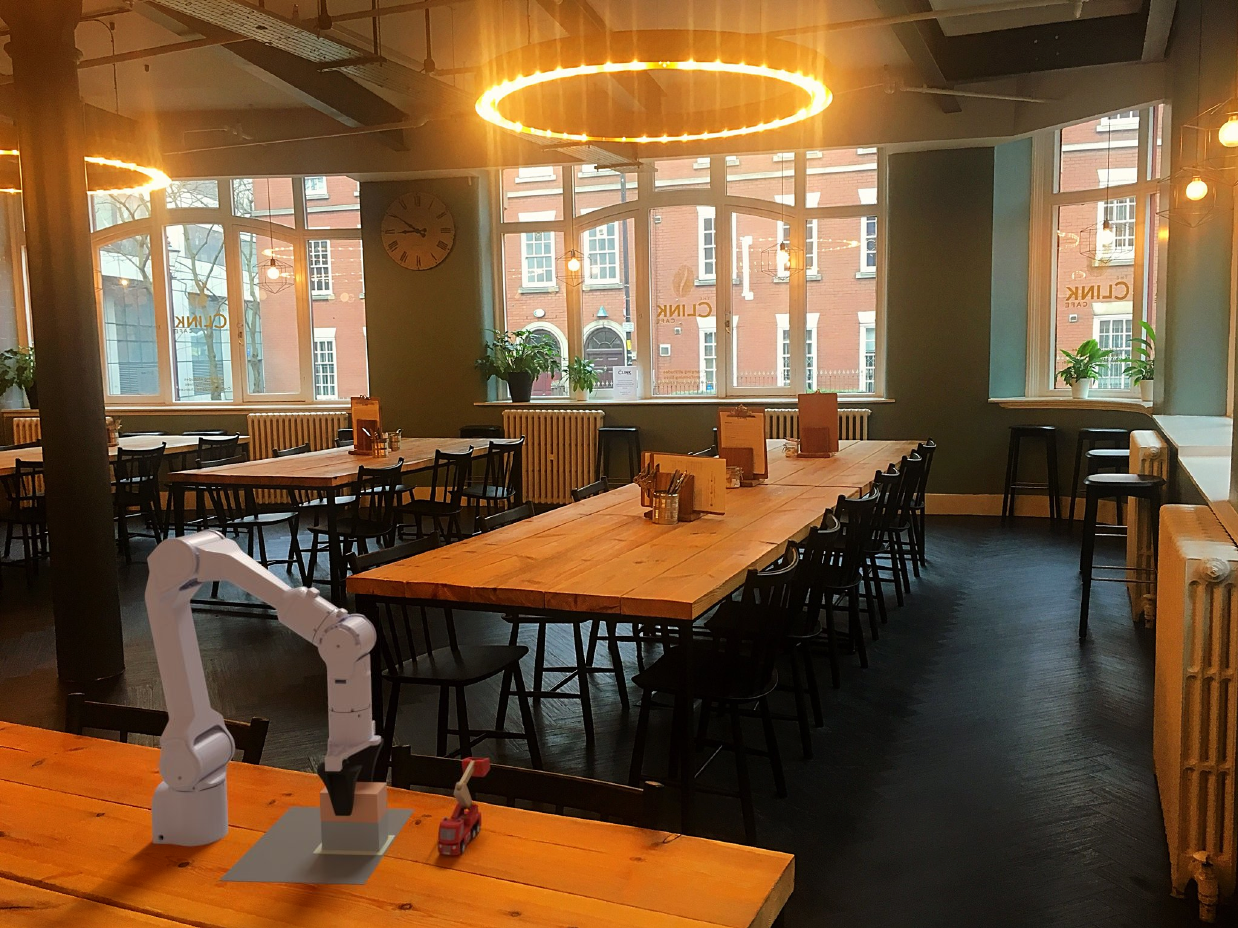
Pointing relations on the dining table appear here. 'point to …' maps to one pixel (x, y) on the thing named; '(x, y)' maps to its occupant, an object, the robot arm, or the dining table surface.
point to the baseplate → (309, 852)
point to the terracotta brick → (359, 804)
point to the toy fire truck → (462, 811)
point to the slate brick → (354, 835)
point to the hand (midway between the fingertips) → (353, 803)
